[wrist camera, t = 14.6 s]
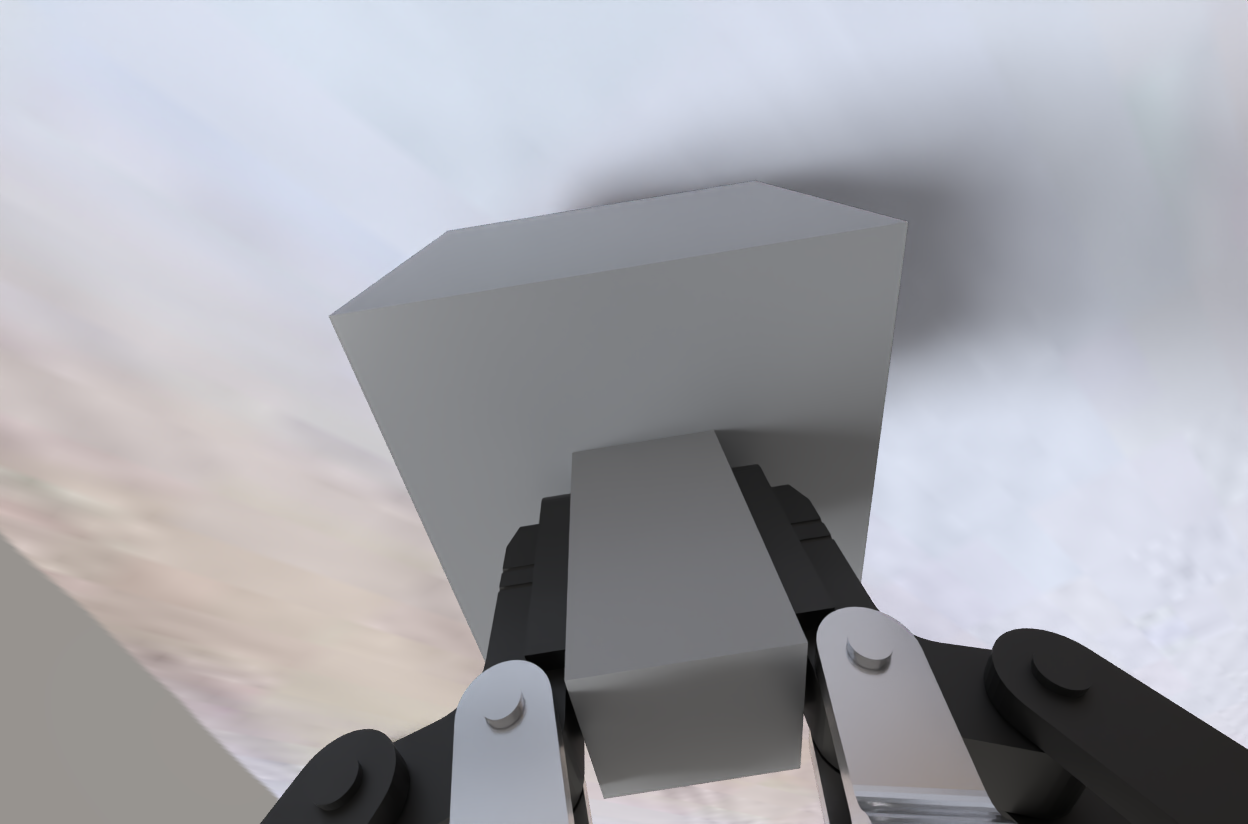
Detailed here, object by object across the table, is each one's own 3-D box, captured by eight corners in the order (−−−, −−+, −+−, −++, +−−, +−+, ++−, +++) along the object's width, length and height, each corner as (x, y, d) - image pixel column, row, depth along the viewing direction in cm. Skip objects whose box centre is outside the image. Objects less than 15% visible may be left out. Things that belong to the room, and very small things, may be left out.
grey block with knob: (755, 180, 16) (1240, 311, 4) (758, 440, 21) (985, 836, 9) (447, 230, 16) (74, 498, 4) (522, 478, 21) (445, 919, 9)
